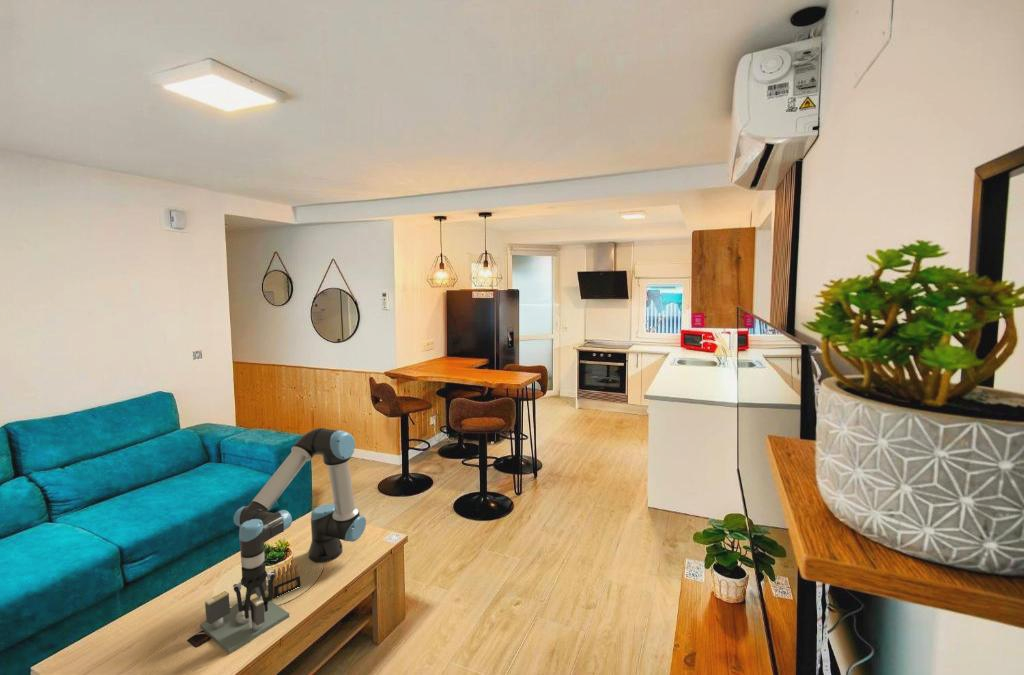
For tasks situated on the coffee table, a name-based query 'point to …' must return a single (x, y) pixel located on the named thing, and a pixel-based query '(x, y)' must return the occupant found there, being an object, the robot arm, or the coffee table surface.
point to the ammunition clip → (286, 580)
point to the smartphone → (199, 639)
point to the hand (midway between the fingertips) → (256, 622)
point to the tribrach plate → (242, 627)
